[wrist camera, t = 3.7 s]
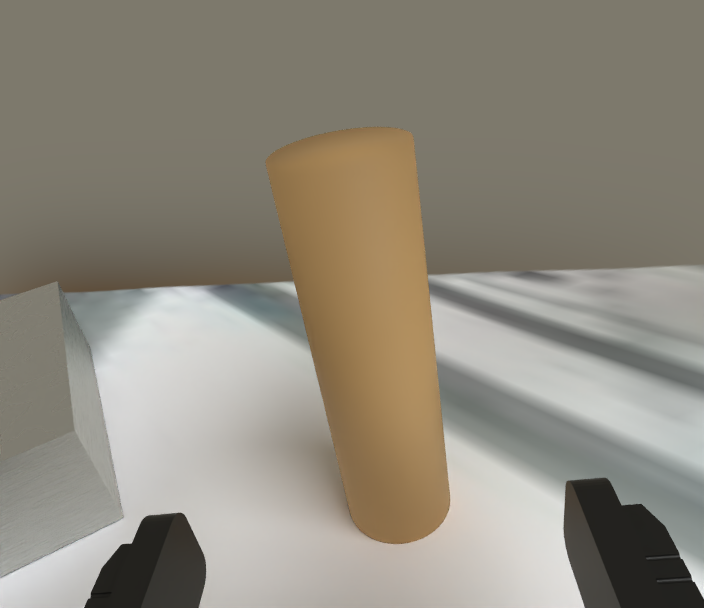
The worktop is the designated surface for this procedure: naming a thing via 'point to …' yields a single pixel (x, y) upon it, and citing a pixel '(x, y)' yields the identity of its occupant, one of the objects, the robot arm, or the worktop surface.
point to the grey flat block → (49, 431)
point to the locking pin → (368, 320)
